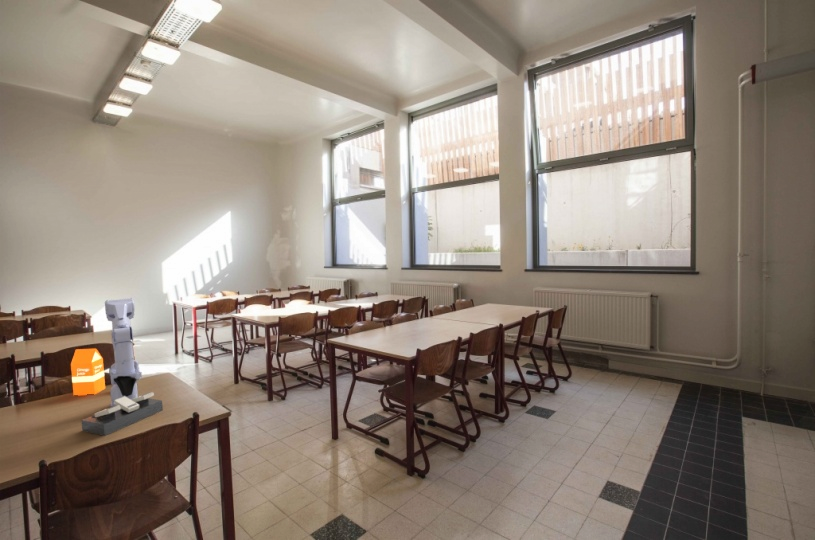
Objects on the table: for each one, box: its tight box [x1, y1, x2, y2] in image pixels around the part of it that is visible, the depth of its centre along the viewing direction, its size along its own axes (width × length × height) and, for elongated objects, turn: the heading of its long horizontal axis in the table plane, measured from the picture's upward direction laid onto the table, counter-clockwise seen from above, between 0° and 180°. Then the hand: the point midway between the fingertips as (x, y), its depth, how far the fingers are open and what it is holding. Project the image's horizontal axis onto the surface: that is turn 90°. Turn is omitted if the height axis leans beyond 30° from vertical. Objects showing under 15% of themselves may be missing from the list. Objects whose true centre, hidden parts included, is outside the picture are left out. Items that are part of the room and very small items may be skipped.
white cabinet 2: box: [114, 396, 139, 413], centre depth 151 cm, size 8×4×2 cm, turn 70°
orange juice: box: [70, 348, 106, 396], centre depth 182 cm, size 8×9×20 cm
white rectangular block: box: [131, 391, 155, 402], centre depth 157 cm, size 8×4×2 cm, turn 69°
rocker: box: [94, 405, 121, 417], centre depth 145 cm, size 8×4×2 cm, turn 69°
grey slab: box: [80, 397, 164, 437], centre depth 154 cm, size 12×26×5 cm, turn 160°
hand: (127, 395), depth 150 cm, fingers closed
